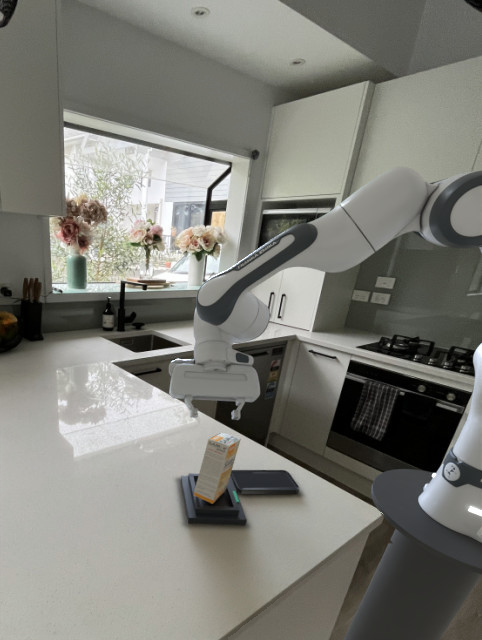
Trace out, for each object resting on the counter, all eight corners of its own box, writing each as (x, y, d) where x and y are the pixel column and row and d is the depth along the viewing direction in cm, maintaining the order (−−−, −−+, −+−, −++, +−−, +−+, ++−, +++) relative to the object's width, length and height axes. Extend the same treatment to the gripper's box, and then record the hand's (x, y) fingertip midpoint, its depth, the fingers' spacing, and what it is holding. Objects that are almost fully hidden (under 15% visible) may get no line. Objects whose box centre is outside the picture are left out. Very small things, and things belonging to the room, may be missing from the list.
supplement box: (213, 505, 77) (229, 446, 74) (192, 495, 79) (207, 438, 76) (226, 492, 84) (242, 438, 81) (206, 483, 86) (221, 430, 83)
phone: (301, 490, 87) (238, 490, 86) (300, 493, 88) (237, 494, 86) (286, 469, 94) (228, 469, 93) (285, 473, 95) (228, 473, 93)
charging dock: (230, 482, 90) (232, 472, 89) (245, 525, 78) (248, 514, 76) (180, 480, 89) (181, 470, 88) (187, 523, 77) (189, 512, 76)
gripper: (170, 352, 84) (170, 411, 79) (260, 357, 85) (265, 415, 80) (167, 364, 90) (166, 419, 85) (251, 368, 91) (255, 423, 86)
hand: (215, 418), depth 83 cm, fingers open, 8 cm apart
